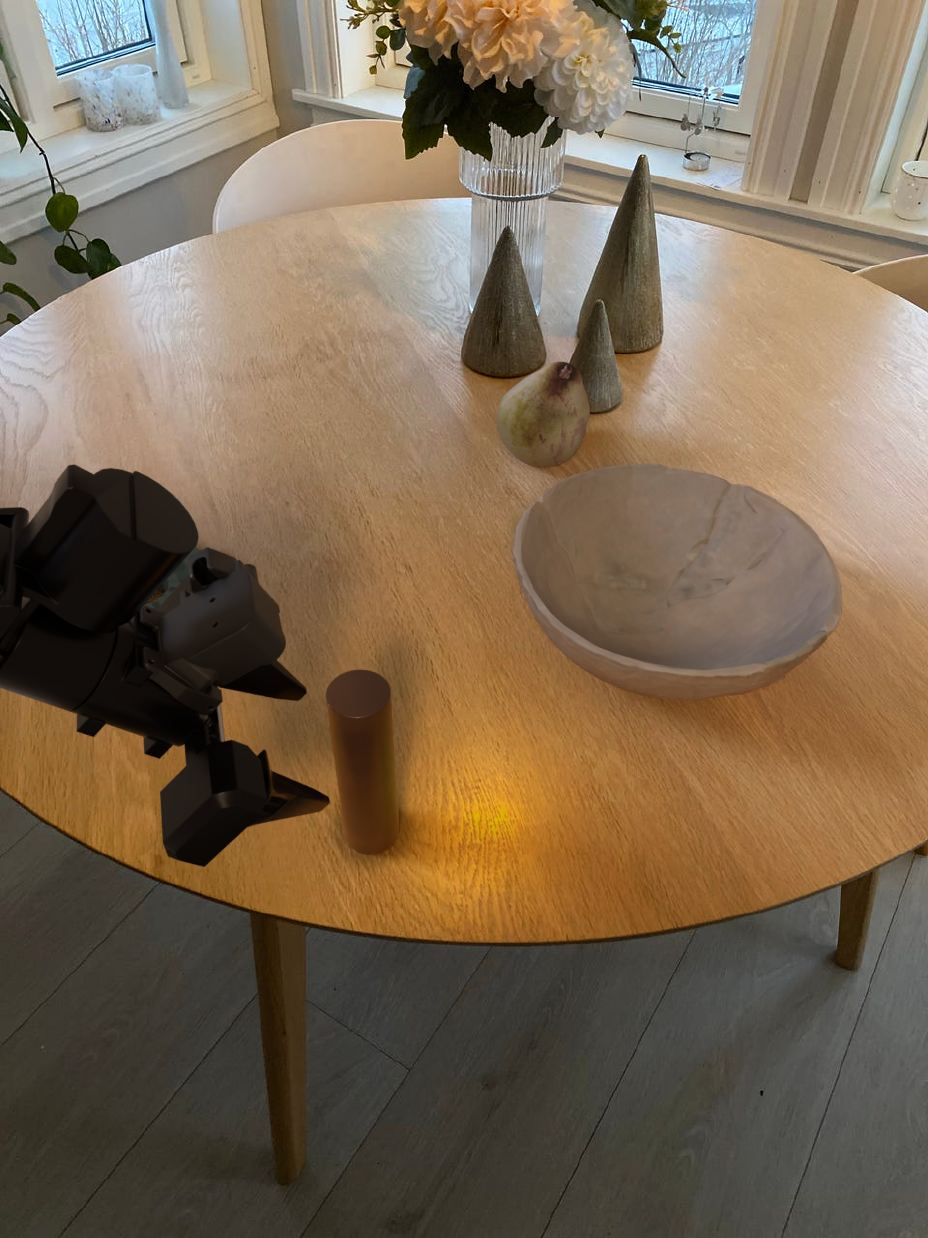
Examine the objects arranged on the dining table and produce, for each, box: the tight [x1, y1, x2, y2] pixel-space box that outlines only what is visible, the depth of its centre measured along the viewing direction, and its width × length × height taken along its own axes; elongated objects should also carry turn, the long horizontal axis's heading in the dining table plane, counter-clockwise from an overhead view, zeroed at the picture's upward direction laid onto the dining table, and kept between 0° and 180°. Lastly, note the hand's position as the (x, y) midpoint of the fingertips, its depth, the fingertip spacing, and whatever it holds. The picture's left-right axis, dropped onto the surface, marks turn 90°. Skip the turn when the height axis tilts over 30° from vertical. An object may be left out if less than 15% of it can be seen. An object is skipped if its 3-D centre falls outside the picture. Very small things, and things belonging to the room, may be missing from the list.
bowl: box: [512, 463, 843, 701], centre depth 80 cm, size 26×26×10 cm
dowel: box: [325, 668, 401, 855], centre depth 64 cm, size 4×4×15 cm
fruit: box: [496, 361, 591, 468], centre depth 100 cm, size 10×9×12 cm
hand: (313, 747), depth 61 cm, fingers open, 9 cm apart
